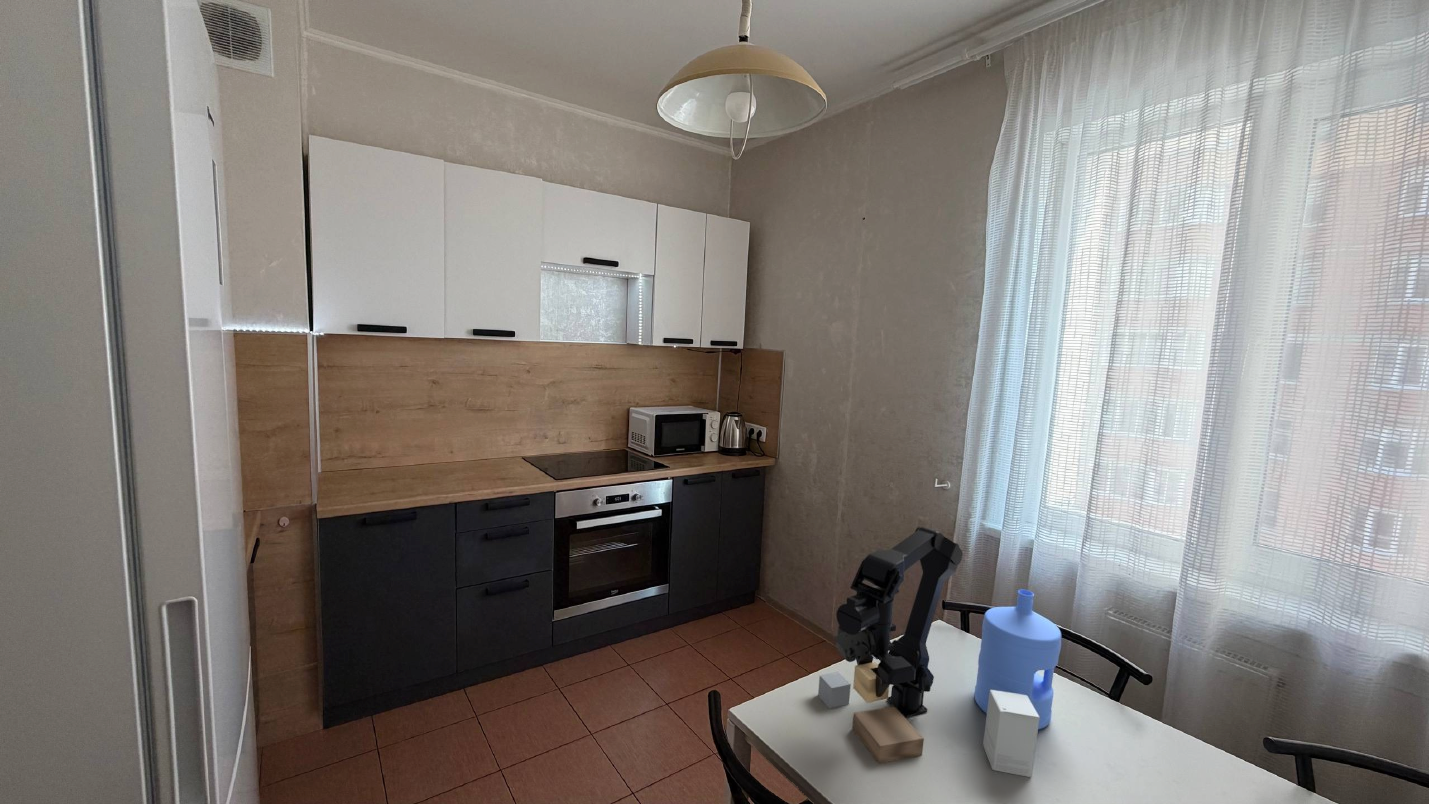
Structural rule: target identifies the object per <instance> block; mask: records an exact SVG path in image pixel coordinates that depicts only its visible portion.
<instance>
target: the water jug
mask: <svg viewBox="0 0 1429 804" xmlns="http://www.w3.org/2000/svg"><path fill="white" fill-rule="evenodd" d="M1034 597H1035V594H1034V592H1032V591H1030V590H1027V589H1019V590H1018V591H1017V597H1016V605H1015V606H996V607H992V608H989V609H988V610H986V611H985V613H984V617H983V621H982V627H981V631H982V633H981V634H982V635H981V642H980V650H979V654H978V660H977V661H978V662H977V663H978V664H977V666H978V667H977V675H976V683H975V685H974V692H973V693H974V699H975V702H976V704H977V706H978V707H979V708H980V709H981V710H982V711H983V712H984V713H985V714H986V715H987V709H988V701H989V693H990V690H996V691H1003V692H1010V693H1016V694H1022V695H1027V696H1028V698H1029V700H1030V701H1031V703H1032V705H1033V707H1034V708H1035V710H1036V712H1037V714H1038V715H1039V717H1040V718H1039V726H1038V730H1042V729H1045V727H1047V726H1048V725H1050V722H1051V720H1052V714H1053V713H1052V708H1053V707H1052V706H1053V699H1054V694H1055V693H1054V688H1053V681H1054V680H1053V679H1054V672H1055V667H1056V666H1058V664H1059V658H1060V657H1059V656H1060V653H1061V648H1062V631H1061V630H1060V628H1059V627H1058V626H1057V625H1056V624H1055V623H1054V622H1052V621H1051V620H1049V619H1048V618H1046V617H1045V616H1042V615H1040V614H1039V613H1037V612H1035V611H1034V610H1033V604H1034V600H1033V599H1034ZM1039 671H1043V676H1042V675H1040V674H1039V673H1038V672H1039Z"/></svg>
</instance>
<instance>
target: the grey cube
mask: <svg viewBox="0 0 1429 804" xmlns="http://www.w3.org/2000/svg"><path fill="white" fill-rule="evenodd" d="M818 678H819V680H818V691H817V696H818V697H819V698H820V699H821V700H822V701H823V703H824V704H825V705H826V706H827V708H829V709H830V710H831V709H835V708H838V707H839V708H840V707H843V706H844V707H845V706H848V705H847V704H850V695H851V683H850V682H849V680H848V679H846V678H845V677H844V676H843V675H842V674H841V673H840V672H839V671H834V672H829V673H824V674H820V675H819V677H818Z"/></svg>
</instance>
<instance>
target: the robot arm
mask: <svg viewBox="0 0 1429 804" xmlns="http://www.w3.org/2000/svg"><path fill="white" fill-rule="evenodd" d="M962 559H963V550H962V549H961V547H960V545H959V544H958V543H957V542H954V541H952V540H951V539H949V538H947V537H946V536H945V535H943V534H942V533H941V532H940V531H938V530H936V529H932V528H930V527H925V526H917V527H916V529H915V531H914V532H913V533H912V534H910V535H909V536H907V537H906V538H905V539H903V540H902V541H900V542H899V543H898V544H896V545H895V546H893V547H892V548H890V549H887V550H886V549H885V550H884V549H883V550H876V551H873V552H872V553H871V552H870V553H869V554H867V555H866V556H865V557H864V558H863V559H862V561H861V563H860V565H859V567H858V569H857V572H856V574H855V576H854V578H853V581H852V583H851V585H850V589H851V590H853V591H855V592H856V594H854V595H851V596H848V597H846V602H845V603H843V604H840V605H839V606H838V608H837V610H836V620H837V623H838V625H839V626H838V629H837V635H836V636H835V637H834V641H835V645H836V650H837V652H838V654H840V655H841V656H842V657H843V658H844V659H845V661H846V662H849V663H852V662H855V661H856V664H857V665H862V664H867V663H872V662H874V659H875V660H879V661H880V662H879V663H877V664H878V667H877V668H872V669H871V670H872V671H873V672H874V673H875V674H876V696H877V697H881V696H882V695H883V694H884V692H885V691H886V690H887V688H888V687H889V688H890V685H892V686H891V692H890V693H891V694H890V696H888V699H886V701H887V702H888V703H889V704H890V705H891V706H892V707H895V708H896V709H897V710H898V711H899V712H900V713H901V714H902V715H903V716H904V717H905V718H906V717H907V718H909V717H911V716H912V717H913V716H916V715H920V714H924V713H927V712H928V708H927V707H926V706H925V705H924V697H925V695H924V694H925V693H927V692H928V693H929V692H930V691H931V688H932V686H933V683H934V679H935V676H934V674H933V673H932V672H931V670H930V669H929V664H930V663H929V662H930V654H929V652H928V647H927V640H928V637H929V633H930V630H931V627H932V624H933V620H934V617H935V613H936V612H937V611H936V610H937V608H938V607H937V606H938V605H939V604H938V603H939V601H940V596H941V595H942V591H943V590H942V589H943V587H944V583H945V582H946V580H948V578H950V577H951V576H952V575H954V574H955V573H956V571H957V568H958V566H959V565H960V564H961V561H962ZM917 562H919V563H920V567H921V570H922V575H921V577H920V581H919V583H918V587H917V591H916V594H915V598H914V600H913V603H912V607H911V610H910V613H909V616H908V617H909V618H908V620H907V623H906V627H905V630H904V633H903V635H902V636H901V637H898V639H894V640H892V642H891V633H892V632H896V631H897V630H896V629H897V626H896V625H895V624H894V622H893V614H894V612H893V610H894V603H895V602H894V600H895V595H897V594H898V593H899V592H900V589H899V587H900V586H901V585H902V583H903V582H904V581H905V572H906V571H907V570H908V569H909V568H910V567H912V566H913V565H915V564H916V563H917ZM864 582H866V583H869V584H871V585H874V586H871V585H868V584H866V583H864Z"/></svg>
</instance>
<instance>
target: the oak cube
mask: <svg viewBox="0 0 1429 804" xmlns="http://www.w3.org/2000/svg"><path fill="white" fill-rule="evenodd" d="M878 664H879V663H877V662H876V661H872V663H867V664H862V665H854V671H853V675H854V676H853V686H852V687H853V688H852V689H853V690H855V692H857V694H858V695H859V696H860V697H861V698H862V699H863V700H864V702H866V704H868V703H869V704H870V703H873V702H878V701H884V700H887V699H888V697H889V692H890V686H889V687H888V688H887V690H886V691H885V692H884V694H883V695H882V696H881V697H877V696H876V674H875V673H874V672H873V671H872V670H871V669H872V668H877V667H878Z"/></svg>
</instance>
